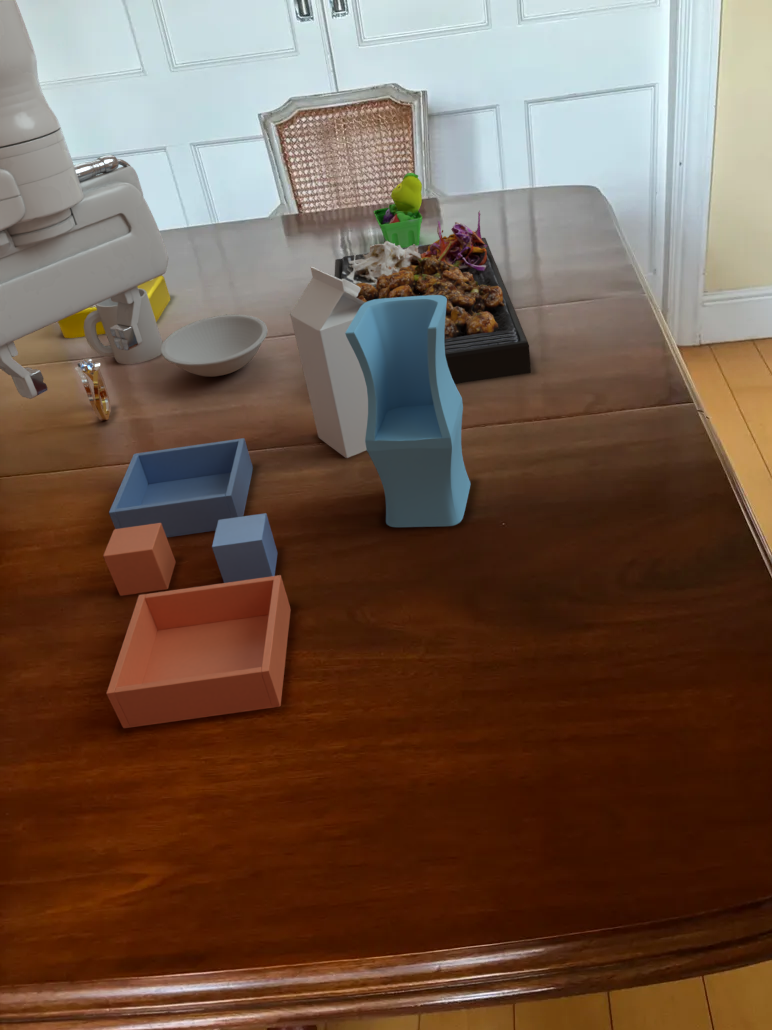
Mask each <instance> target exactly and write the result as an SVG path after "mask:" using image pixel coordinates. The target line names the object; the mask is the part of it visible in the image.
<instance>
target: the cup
mask: <svg viewBox="0 0 772 1030" xmlns="http://www.w3.org/2000/svg"><path fill="white" fill-rule="evenodd" d="M138 290H139V293H140V296H141V305H140V312H139V319H138V323H137V326H138V329H139V332H140V335H141V338H142V344H140V345H138V346H136V347H134V348H132V349H130V350H128V351H127V350H125V349H123V350H121V349H119V348H117V346H116V345H115V342H114V337H113V336H112V334H111V331H110V329H109V328H111V327H113V326H115V325H117V307H118V302H113V301H111V298H109V299H107V300H105V301H103V302H100V303H98V304H96V308H97V310H96V311H93V312H91V313H90V314H88V316H87V317H86V319H85V321H84V332H85V338H86V342H87V343H88V345H89V347H90V348H91V349H92V351H94V352H95V354H97V355H99V356H101V357H107V358H112V357H114V360H115V362H116V363H118V364H122V365H134V364H140V363H144V362H145V363H146V362H147V361H148V362H149V361H151V360H153V359H156V358H158V357H159V356H161V355H162V353H161V347H162V344H163V342H164V341H163V338H162V336H161V332H160V329H159V326H158V323H157V322H156V320H155V317H154V314H153V311H152V308H151V304H150V301H149V298H148V295H147V292H146V291H145V290H144V289H140V288H138ZM100 321H101V322H102V324H103V327H104V330H105V332H106V334H105V336H106V337H107V340H108V343H109V345H104V344H103V343H102V341H101V340H100V338H99V335H97V332H96V323H98V322H100Z"/></svg>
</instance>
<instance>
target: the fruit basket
mask: <svg viewBox="0 0 772 1030" xmlns="http://www.w3.org/2000/svg"><path fill="white" fill-rule="evenodd" d="M422 190H423V184H422V181H421V180H420V178H419V174H416V173H414V172H407V173H406V174H405V175H404V176H403V179H402V181H401V182H400V183H398V184H397V185H396V186H395V187H394V188H393V189H392V190H391V193H390V198H391V199H392V202H393V203H392V204H391V203H390V204H389V205H388V206H387V207H383V208H378V209H374V210H373V215H374V217H375V219H376V222H377V224H378V227H379V229H380V230H381V233H382V235H383V238H384V240H385V241H388V242H390V243H393V244H394V243H395V246H398V245H400V247H401V248H408V247H409V246H413V244H415V246H420V240H421V239H420V238H421V237H420V236H421V229H422V228H421V227H422V223H423V216H422V214H421V212H420V211H419V210H420V209H421V205H422V203H423V193H422ZM385 241H384V242H385Z"/></svg>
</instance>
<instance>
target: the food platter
mask: <svg viewBox="0 0 772 1030" xmlns="http://www.w3.org/2000/svg"><path fill="white" fill-rule="evenodd" d="M477 214H478V216H477V217H478V218H477V220H478V221H477V227H476V230H474V231H473V230H472V229H471V228H470V227H468V226H467V225H465V224H464V223H460V222H457V221H456V222H454V225H453V226H452V228H451V232H452V233H451V234H449V235H448V236H444V235H443V233H444V230H443V229H442V227H441V221H440V220H437V227H436V228H437V229H436V233H437V236H438V238H439V239H437V240H436V241H434V242H432V243H430V244H423V245H416V246H415V244H413V246H409V247H405V248H401V247H400V245H398V246H395V243H394V244H393V243H390V242H388V241H384V242H383V243H377V244H373V245H372V244H370V246H369V252H366V253H360V254H359V253H358V254H356V253H354V254H352V255H351V254H350V255H346V256H343V257H342V258H337V259H335V261H334V275H333V276H334V277H336V278H339V279H345V280H347V281H349V282H351V283H353V284H355V285H357V286H359V287H360V288H361V289H360V292H359V293H358V296H357V297H356V298H358V299H360V300H362V301H363V302H368V301H370V300H374V299H383V298H397V297H411V296H426V295H442V296H445V297H446V298H447V305H446V316H445V330H444V345H445V356H446V361H447V365H448V368H449V371H450V374H451V376H452V379H453V381H454V383H455V385H456V384H464V383H470V382H477V381H484V380H491V379H498V378H505V377H512V376H521V375H526V374H531V373H532V370H531V369H532V368H531V355H530V344H529V341H528V339H527V337H526V334H525V332H524V330H523V329H524V328H523V327H522V324H521V322H520V319H519V316H518V314H517V312H516V310H515V308H514V307H515V306H514V304H513V303H512V300H511V298H510V295H509V292H508V289H507V287H506V284H505V283H504V280H503V278H502V275H501V272H500V271H499V268H498V265H497V263H496V261H495V260H496V259H495V257H494V255H493V253H492V251H491V249H490V246H489V243H488V240H487V238H486V237H482V234H481V210H479V211H478V212H477Z"/></svg>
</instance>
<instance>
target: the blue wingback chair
mask: <svg viewBox="0 0 772 1030" xmlns="http://www.w3.org/2000/svg"><path fill="white" fill-rule="evenodd" d="M446 305H447V298H446V297H445V296H442V295H426V296H411V297H397V298H383V299H374V300H370V301H368V302H365V303H364V304H363V305H362V306H361V307H360V309H359V310H358V312H357V314H356V315H355V317H354V319H353V320H352V322H351V324H350V326H349V327H348V329H347V331H346V333H345V334H346V337H347V339H348V341H349V343H350V345H351V347H352V349H353V350H354V353H355V355H356V357H357V359H358V361H359V364H360V366H361V369H362V372H363V375H364V378H365V382H366V386H367V394H368V419H367V429H366V437H365V443H366V449H367V450H366V452H367V454H368V456H369V458H370V459H371V462H372V463H373V466H374V467H375V469H376V472H377V474H378V476H379V478H380V482H381V484H382V487H383V491H384V497H385V524H386V525H387V526H389V527H391V528H426V527H429V528H430V527H431V528H433V527H435V528H437V527H454V526H457V525H458V524H460V523H461V522H462V520H463V519H464V515H465V511H466V507H467V503H468V499H469V494H470V490H471V480H470V478H469V475H468V472H467V469H466V465H465V462H464V457H463V448H462V426H463V414H464V413H463V412H464V403H463V397H462V395H461V394H460V391H459V390H458V387H457V385H456V384H455V383H454V381H453V379H452V376H451V374H450V371H449V368H448V365H447V361H446V356H445V345H444V330H445V316H446Z"/></svg>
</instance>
